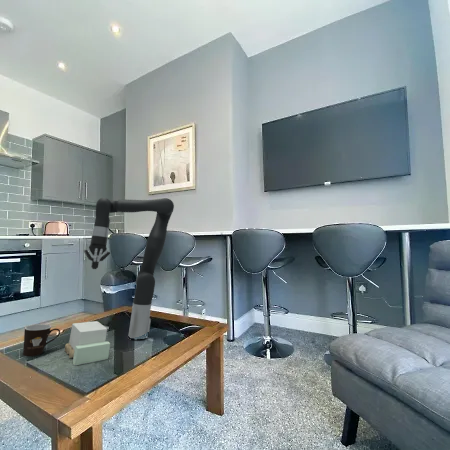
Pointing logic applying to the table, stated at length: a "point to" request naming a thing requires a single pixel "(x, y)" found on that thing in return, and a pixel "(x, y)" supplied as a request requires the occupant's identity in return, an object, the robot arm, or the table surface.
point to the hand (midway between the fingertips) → (94, 269)
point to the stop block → (91, 353)
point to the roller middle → (68, 349)
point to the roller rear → (66, 346)
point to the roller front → (71, 353)
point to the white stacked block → (87, 333)
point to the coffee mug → (36, 339)
